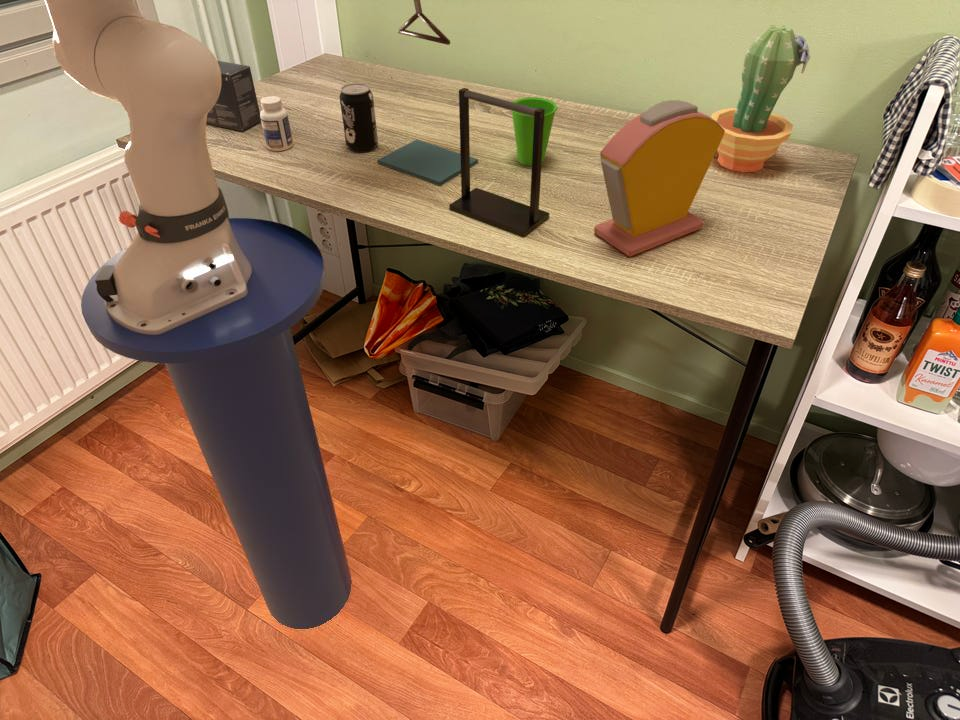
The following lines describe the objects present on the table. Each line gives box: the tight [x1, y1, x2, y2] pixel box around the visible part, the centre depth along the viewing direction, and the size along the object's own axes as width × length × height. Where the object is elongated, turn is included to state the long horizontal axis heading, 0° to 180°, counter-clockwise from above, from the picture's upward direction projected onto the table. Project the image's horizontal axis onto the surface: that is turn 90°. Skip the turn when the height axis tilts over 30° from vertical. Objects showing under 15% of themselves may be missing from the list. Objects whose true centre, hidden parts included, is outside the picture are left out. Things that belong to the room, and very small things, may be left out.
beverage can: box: [339, 82, 379, 153], centre depth 137 cm, size 7×7×12 cm
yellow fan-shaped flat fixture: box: [593, 99, 725, 258], centre depth 108 cm, size 22×9×22 cm, turn 123°
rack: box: [448, 87, 550, 238], centre depth 113 cm, size 8×16×20 cm, turn 53°
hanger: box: [397, 0, 451, 46], centre depth 116 cm, size 3×12×10 cm, turn 53°
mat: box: [377, 139, 479, 187], centre depth 135 cm, size 12×16×1 cm
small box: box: [206, 60, 261, 132], centre depth 147 cm, size 13×7×12 cm, turn 65°
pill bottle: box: [260, 95, 294, 152], centre depth 138 cm, size 5×5×10 cm
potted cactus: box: [710, 24, 811, 173], centre depth 127 cm, size 15×15×25 cm
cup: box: [511, 96, 558, 167], centre depth 132 cm, size 9×9×11 cm
